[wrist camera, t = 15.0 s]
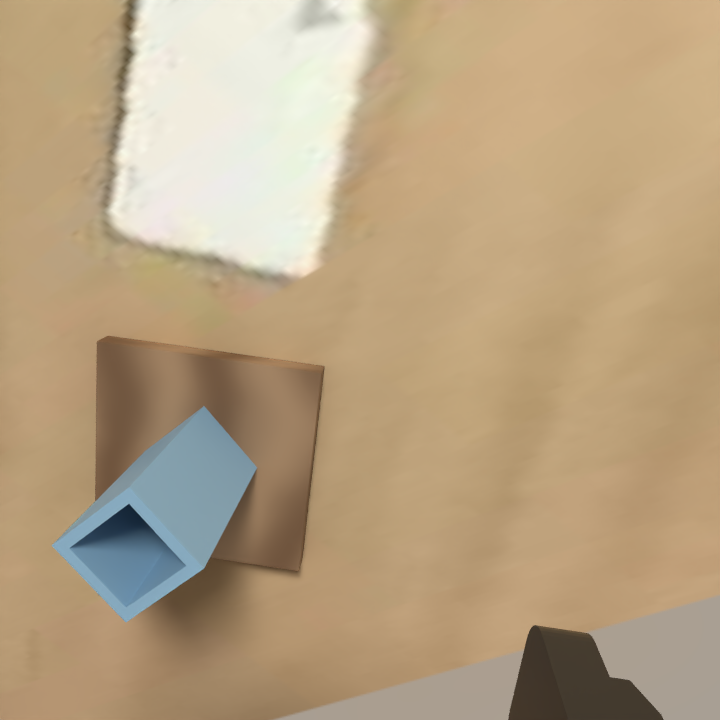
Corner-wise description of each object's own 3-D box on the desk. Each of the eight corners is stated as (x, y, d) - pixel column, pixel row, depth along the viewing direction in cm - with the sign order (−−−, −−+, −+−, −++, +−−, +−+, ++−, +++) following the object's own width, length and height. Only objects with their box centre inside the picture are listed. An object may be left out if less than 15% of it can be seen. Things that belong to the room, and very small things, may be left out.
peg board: (105, 528, 43) (45, 596, 36) (108, 335, 40) (42, 368, 32) (302, 558, 43) (281, 632, 36) (324, 366, 39) (306, 406, 32)
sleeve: (197, 510, 41) (125, 622, 30) (144, 451, 40) (51, 545, 29) (257, 467, 40) (204, 568, 29) (204, 405, 39) (129, 486, 28)
